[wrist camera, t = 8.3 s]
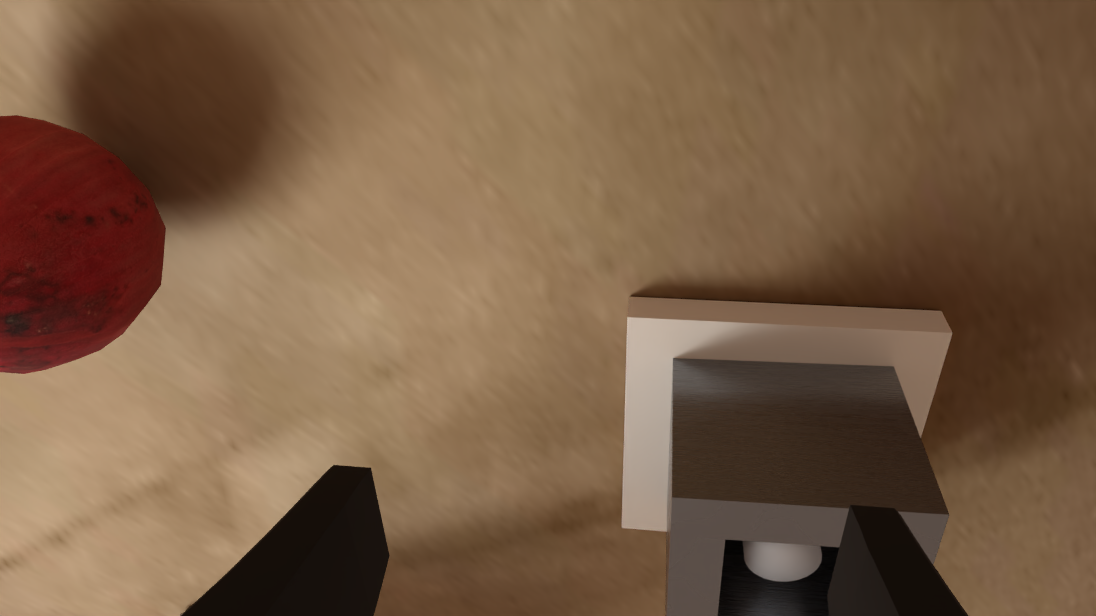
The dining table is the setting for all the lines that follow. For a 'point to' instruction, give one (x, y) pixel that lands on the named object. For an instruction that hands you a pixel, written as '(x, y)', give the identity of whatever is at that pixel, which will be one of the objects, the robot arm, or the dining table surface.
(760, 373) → the collar
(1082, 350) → the dining table surface
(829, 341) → the post block
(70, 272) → the onion
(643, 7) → the dining table surface
